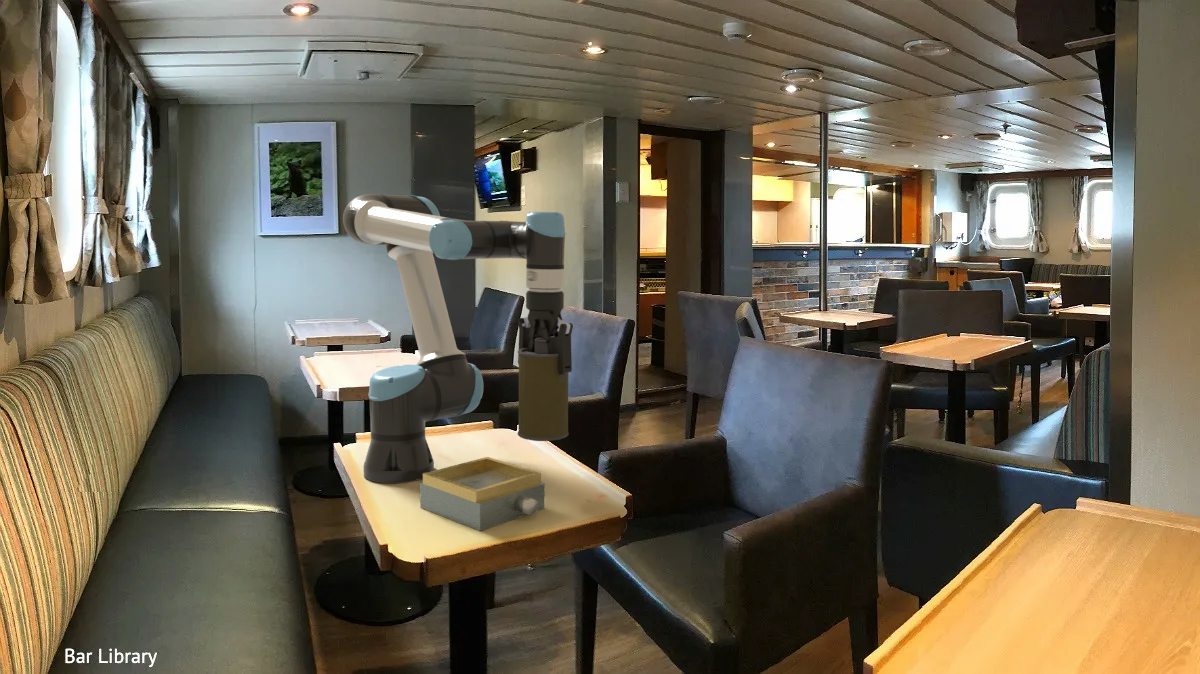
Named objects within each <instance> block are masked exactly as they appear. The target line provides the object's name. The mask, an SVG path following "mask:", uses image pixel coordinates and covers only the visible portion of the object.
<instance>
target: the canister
mask: <svg viewBox="0 0 1200 674" xmlns="http://www.w3.org/2000/svg"><path fill="white" fill-rule="evenodd" d="M527 350H528V348H522V349H520V350H519V349H518V350H517V354H519V364H518V431H517V436H518V437H520V438H522V439H524V440H527V441H532V442H534V441H535V442H551V441H552V442H553V441H559V440H562V439H565V438H567V437H569V433H570V432H569V372H568V373H565V374H562V375H559V356H558V354H549V353H548V348H547V343H546V340H544V337H539V338H538V337H537V338H536V339H535V352H528V351H527Z"/></svg>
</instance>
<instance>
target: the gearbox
mask: <svg viewBox="0 0 1200 674" xmlns="http://www.w3.org/2000/svg"><path fill="white" fill-rule="evenodd" d="M545 486H546V484H545V483H543V482H542V472H540V471H537V470H533V469H530V468H527V467H523V466H521V465H516V464H514V463H510V462H508V461H507V462H506V461H503V460H500V459H496V458H493V457H489V456H484V457H481V458H478V459H474V460H470V461H466V462H462V463H459V464H455V465H450V466H446V467H444V468H443V467H442V468H439V469H436V470H435V469H434V471H431V472H427V473H423V479H422V482H419V494H420V495H419V501H420V502H419V503H420V505H419V506H420V508H421V509H423V510H426V511H428V512H431V513H434V514H435V515H438V516H440V517H444V518H446V519H447V520H452V521H453V522H455V523H459V524H461V525H462V526H463V525H464V526H466V527H469V528H472V529H474V530H477V531H479V532H482V531H485V530H488V529H490V528H493V527H496V526H499V525H502V524H505V523H508V522H510V521H513V520H517V519H519V518H522V517H525V516H531V517H532V516H534V515H536V514H537V512H540V511H542V510H545V509H546V508H545V507H546V506H545V505H546V503H545V497H546V494H545V493H546V491H545V490H546V489H545V488H546V487H545Z"/></svg>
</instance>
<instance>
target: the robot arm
mask: <svg viewBox="0 0 1200 674" xmlns="http://www.w3.org/2000/svg"><path fill="white" fill-rule="evenodd" d="M342 223H343V228H344V230H345V232H346V233H347V235H348V236H349V237H350V238H351V239H353V240H354V241H357V242H359V243H361V244H364V245H365V244H366V245H376V246H377V245H378V246H379V245H381V246H383V245H384V246H385V247H386V251H387V255H388V257H389V258H391V259H393V260H394V261H395V262H396V264H397V268H398V272H399V276H400V281H401V284H402V287H403V291H404V297H405V300H406V304H407V308H408V312H409V316H410V321H411V323H412V327H413V328H412V329H413V333H414V336H415V341H416V344H417V347H418V352H419V355H420V358H419V360H418V362H417V363H416V364H403V365H394V366H388V367H386V368H382V369H380V370H378V371H376V372H375V373H373V374H372V376H371V377H370V378H369V379H370V380H369V386H368V387H369V388H368V398H369V416H370V418H369V419H370V421H369V422H370V442H369V446H368V448H367V452H366V457H365V461H364V463H363V467H362V468H363V477H364V479H366V480H369V481H370V482H376V483H383V484H384V483H385V484H395V483H396V484H398V483H407V482H409V483H410V482H415V481H419V480H423V473H427V472H431V471H435V461H434V458H433V455H432V453H431V450H430V447H429V444H428V441H427V439H426V422H431V421H437V420H441V419H446V418H451V417H455V418H456V417H459V416H462V415H465V414H469V413H471V412H473V411H475V410H476V409H477V407H478V406H479V405H480V403H481V399H482V398H483V393H484V379H483V375H482V371H480V369H479V368H478V367H477V366H476V365H475V364H473V363H470V362H468V359H467V357H466V353H465V352H463V351H461V350H460V349H458V345H457V344H456V343H457V342H456V339H455V336H454V332H453V327H452V324H451V320H450V316H449V311H448V308H447V304H446V300H445V297H444V293H443V289H442V288H443V287H442V285H441V281H440V276H439V273H438V268H437V266H436V260H435V258H434V255H435V257H437V258H438V259H440V260H450V261H459V260H474V259H476V260H478V259H481V260H482V259H486V260H487V259H524V260H526V264H525V266H526V269H525V270H526V279H525V280H526V284H525V285H526V288H528V290H526V293H525V307H526V309H527V310H528V314H527V316H526V317H519V318H518V319H517V323H518V324H517V325H518V331H519V332H518V350H520V349H522V348H528V350H527V351H528V352H535V339H536V338H537V337H538V338H539V337H544V340H546V343H547V348H548V353H549V354H558V356H559V375H562V374H565V373H568V374H569V373H571V372H572V370H573V369H572V368H573V367H572V365H573V364H572V331H573V329H574V328H573V327H574V326H573V325H574V324H573V323H572V322H566V321H564V320H563V317H562V313H561V312H562V311H563V309H564V307H565V304H564V303H565V302H564V301H565V292H563V290H562V289H565V243H566V242H565V239H566V232H565V231H566V230H565V216H564V215H563V213H561V212H558V211H557V212H556V211H529V212H527V215H526V220H525V221H513V220H469V219H468V220H466V219H459V218H451V217H445V216H441V214H440V212H439V210H438V208H437V206H436V205H435V203H433V202H432V200H430V199H428V198H426V197H423V196H418V195H414V194H406V195H404V194H403V195H400V194H399V195H398V194H382V193H381V194H380V193H365V194H362V195H359V196H356V197H354V198H353V199H352V200H350V201H349V203H348V204H347V205H346V207H345V208H344V210H343V212H342ZM517 354H518V353H517ZM517 364H518V365H519V354H518V356H517Z"/></svg>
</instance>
